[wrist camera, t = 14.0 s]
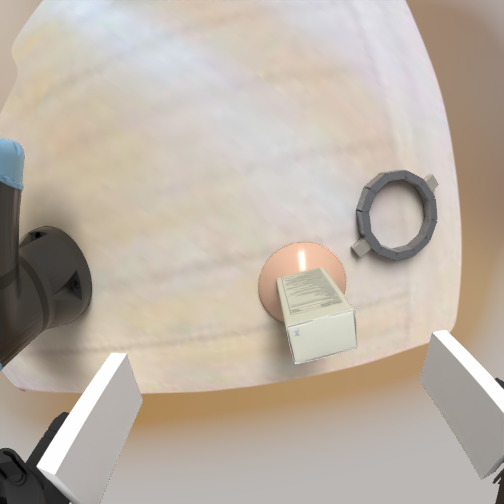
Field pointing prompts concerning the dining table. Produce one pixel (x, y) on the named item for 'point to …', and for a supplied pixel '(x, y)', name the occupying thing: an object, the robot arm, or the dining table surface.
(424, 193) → the bayonet collar
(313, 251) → the peach dome button
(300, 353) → the skincare box
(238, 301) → the dining table surface
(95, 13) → the dining table surface
